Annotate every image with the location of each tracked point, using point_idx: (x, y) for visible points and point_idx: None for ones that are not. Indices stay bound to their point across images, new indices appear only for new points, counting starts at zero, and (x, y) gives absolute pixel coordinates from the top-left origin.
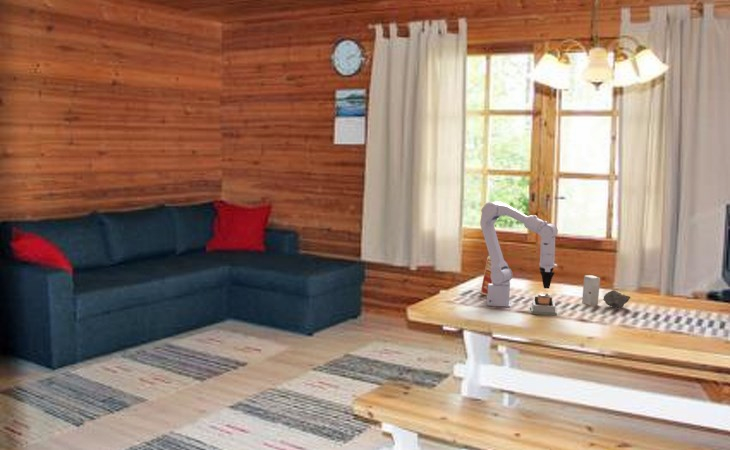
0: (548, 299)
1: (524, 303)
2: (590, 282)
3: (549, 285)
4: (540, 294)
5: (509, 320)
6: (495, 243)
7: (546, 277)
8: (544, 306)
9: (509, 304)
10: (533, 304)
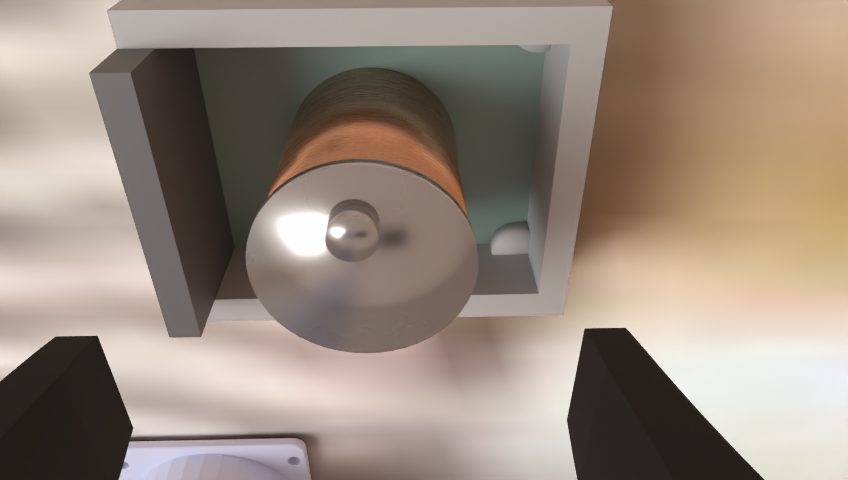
0: (429, 159)
1: (26, 324)
2: None
3: (674, 390)
4: (307, 317)
5: (842, 421)
6: None
7: None
8: (580, 177)
9: (237, 450)
10: (516, 314)
